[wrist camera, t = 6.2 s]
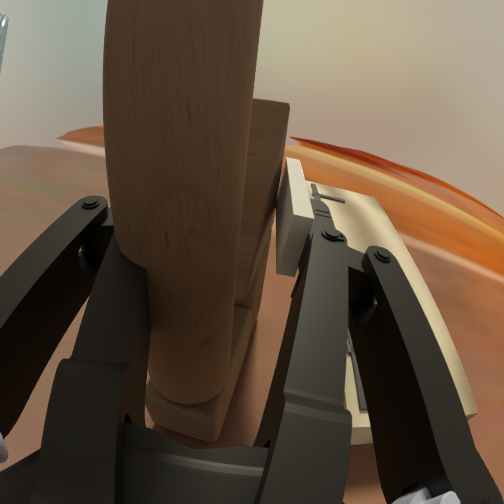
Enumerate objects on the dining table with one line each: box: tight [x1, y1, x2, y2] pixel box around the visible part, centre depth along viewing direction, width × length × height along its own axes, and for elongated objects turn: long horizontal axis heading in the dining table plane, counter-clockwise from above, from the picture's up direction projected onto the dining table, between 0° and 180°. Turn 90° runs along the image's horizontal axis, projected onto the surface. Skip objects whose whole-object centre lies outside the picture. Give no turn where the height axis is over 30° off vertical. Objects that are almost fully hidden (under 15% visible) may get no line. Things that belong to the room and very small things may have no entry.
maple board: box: [305, 181, 478, 445], centre depth 26 cm, size 10×30×3 cm, turn 177°
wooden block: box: [103, 0, 290, 443], centre depth 12 cm, size 4×11×18 cm, turn 167°
